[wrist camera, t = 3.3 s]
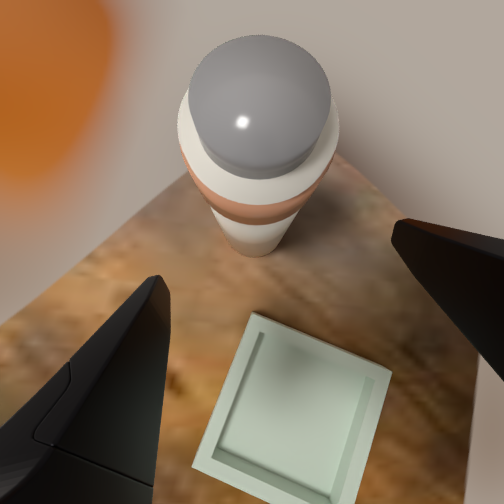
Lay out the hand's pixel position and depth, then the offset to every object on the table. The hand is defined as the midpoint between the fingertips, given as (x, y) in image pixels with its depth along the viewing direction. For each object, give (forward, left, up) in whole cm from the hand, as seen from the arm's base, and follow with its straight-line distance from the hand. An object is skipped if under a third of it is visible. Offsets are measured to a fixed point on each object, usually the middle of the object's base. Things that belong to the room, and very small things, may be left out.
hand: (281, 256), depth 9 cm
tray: (-6, +9, -11) cm, 15 cm away
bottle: (+2, -3, -11) cm, 11 cm away
